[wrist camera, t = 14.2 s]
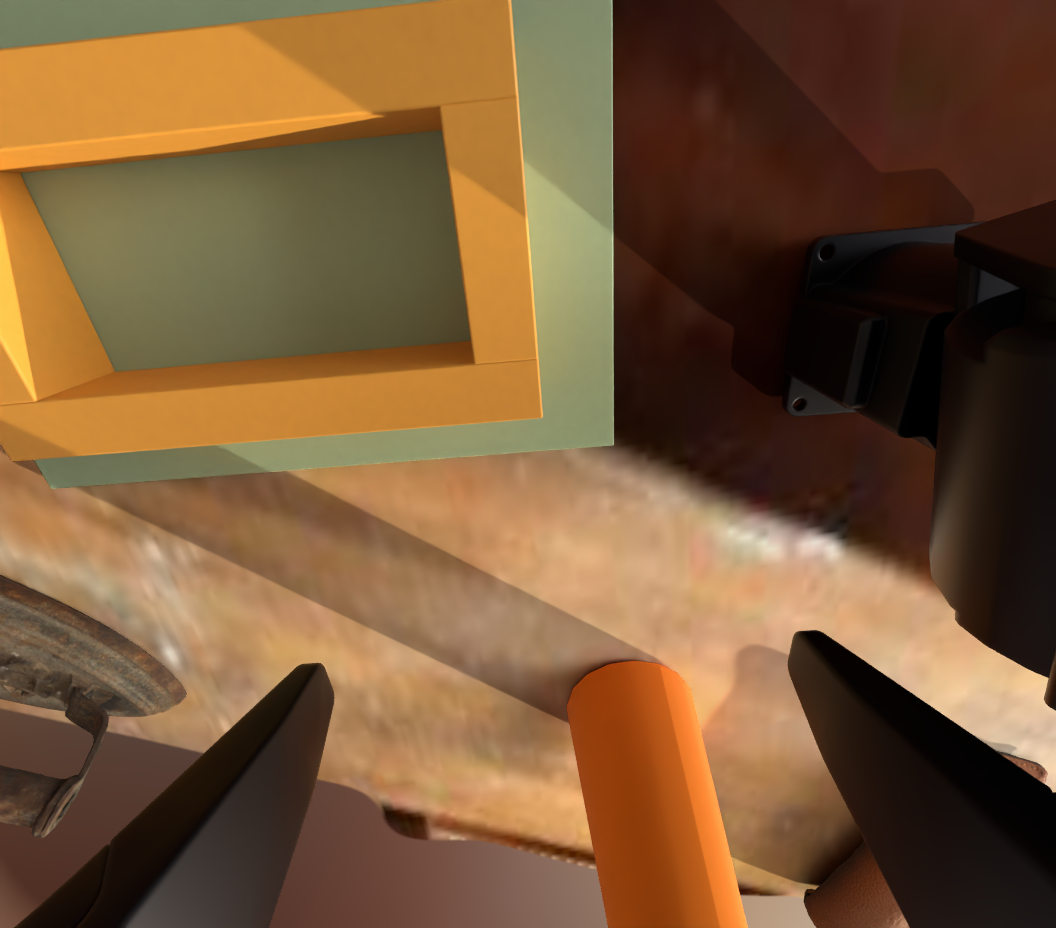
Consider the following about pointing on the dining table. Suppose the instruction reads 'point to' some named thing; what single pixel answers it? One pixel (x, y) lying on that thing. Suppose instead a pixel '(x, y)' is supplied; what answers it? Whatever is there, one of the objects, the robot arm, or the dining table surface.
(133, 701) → the clothes iron
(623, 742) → the spray bottle
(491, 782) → the dining table surface
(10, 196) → the rectangular frame
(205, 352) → the mat
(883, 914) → the sunglasses case
